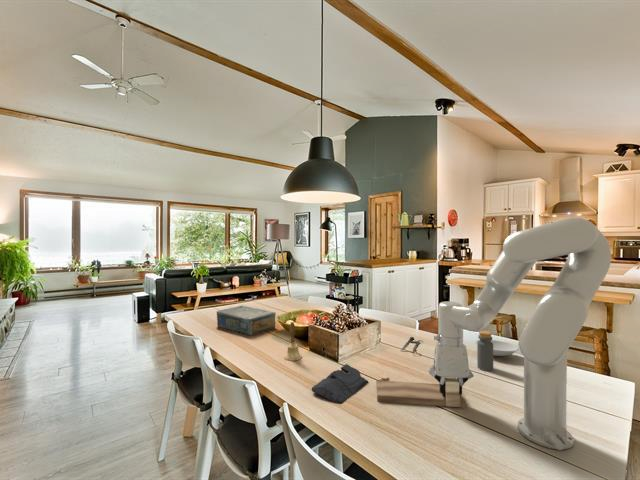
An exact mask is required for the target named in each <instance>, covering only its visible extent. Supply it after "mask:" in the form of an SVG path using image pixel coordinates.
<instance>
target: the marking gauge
mask: <svg viewBox="0 0 640 480" xmlns="http://www.w3.org/2000/svg"><path fill="white" fill-rule="evenodd" d="M444 384H445V399H446V406H445V407H452V408H453V407H454V408H461V407H460V395H459V382H458V380H457V378H454V377H445V380H444Z"/></svg>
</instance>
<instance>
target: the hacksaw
mask: <svg viewBox="0 0 640 480" xmlns="http://www.w3.org/2000/svg"><path fill="white" fill-rule="evenodd" d="M420 342H423V340H421V339H420V340H415V337H414V336H411V337H409V339H408V341H406V342H405V343H404V345H403V347H402V348H401V349H400V352H404V353H412V354H413V356H415V357H416V355H415V353H416V354H418V355H419V357H421V356H422V354H421V353H419V352H417V348H418V346H419V345H420V344H421V343H420ZM410 343H411V344H413V343H415V345H414V347H413V350H412V351H410V350H405V349H406V348H407V346H408V345H409V344H410Z"/></svg>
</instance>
